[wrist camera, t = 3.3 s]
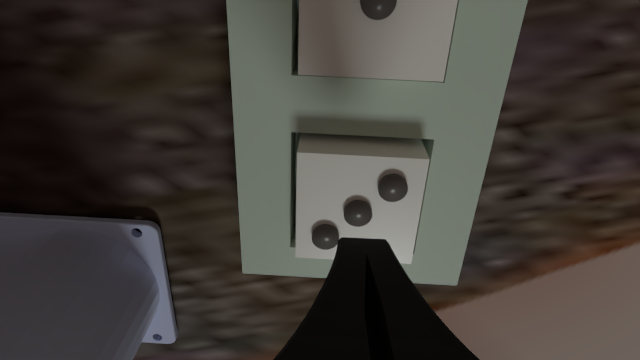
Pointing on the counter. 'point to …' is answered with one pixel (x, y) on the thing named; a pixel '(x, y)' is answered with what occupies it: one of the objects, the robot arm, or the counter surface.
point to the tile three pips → (358, 192)
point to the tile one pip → (375, 38)
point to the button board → (364, 129)
